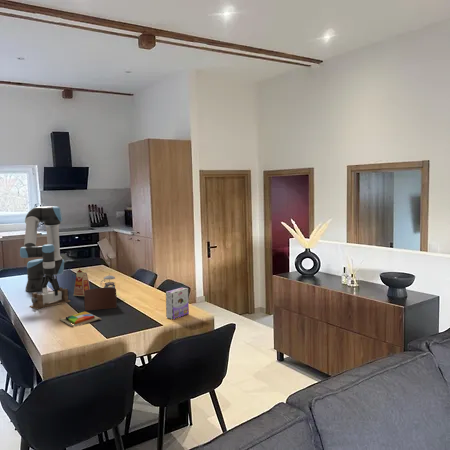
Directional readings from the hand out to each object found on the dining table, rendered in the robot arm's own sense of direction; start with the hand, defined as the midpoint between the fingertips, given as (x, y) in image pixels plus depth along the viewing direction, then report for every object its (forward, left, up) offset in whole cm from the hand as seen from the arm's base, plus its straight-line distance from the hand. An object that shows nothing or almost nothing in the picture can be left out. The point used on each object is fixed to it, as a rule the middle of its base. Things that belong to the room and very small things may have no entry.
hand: (50, 298), depth 288 cm
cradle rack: (0, 0, -4) cm, 4 cm away
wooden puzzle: (+47, -8, -4) cm, 48 cm away
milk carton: (-6, +28, -4) cm, 29 cm away
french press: (+15, +36, -4) cm, 39 cm away
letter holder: (+34, +16, -4) cm, 37 cm away
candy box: (+88, +32, -4) cm, 94 cm away
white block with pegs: (0, 0, -2) cm, 2 cm away
